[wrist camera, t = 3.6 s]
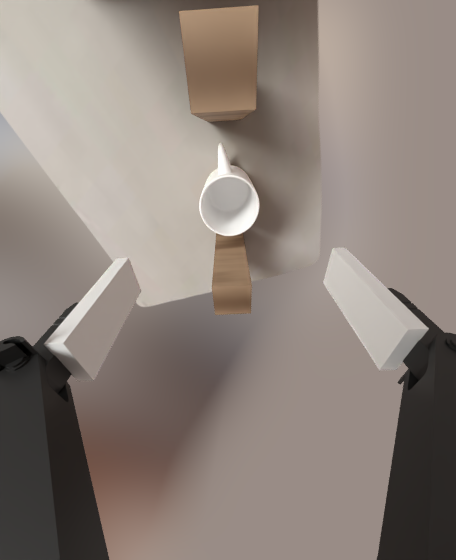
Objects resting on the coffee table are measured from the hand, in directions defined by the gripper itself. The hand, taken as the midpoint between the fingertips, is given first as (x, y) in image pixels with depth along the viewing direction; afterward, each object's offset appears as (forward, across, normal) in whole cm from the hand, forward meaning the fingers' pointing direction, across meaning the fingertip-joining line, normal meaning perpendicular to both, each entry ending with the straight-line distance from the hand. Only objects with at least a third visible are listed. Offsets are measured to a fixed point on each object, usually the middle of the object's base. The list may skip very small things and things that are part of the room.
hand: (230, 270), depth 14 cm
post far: (+29, 0, -11) cm, 31 cm away
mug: (+29, 0, 0) cm, 29 cm away
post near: (+29, 0, +11) cm, 31 cm away
